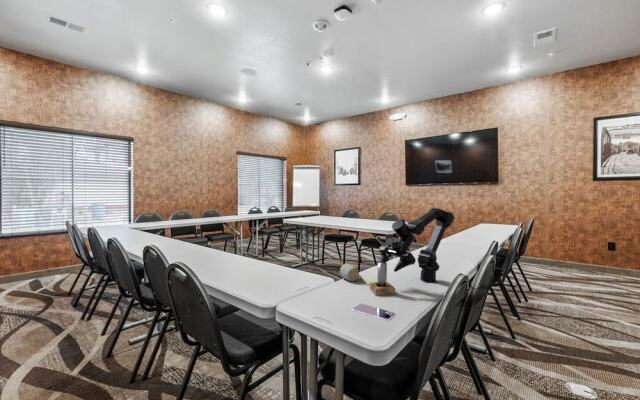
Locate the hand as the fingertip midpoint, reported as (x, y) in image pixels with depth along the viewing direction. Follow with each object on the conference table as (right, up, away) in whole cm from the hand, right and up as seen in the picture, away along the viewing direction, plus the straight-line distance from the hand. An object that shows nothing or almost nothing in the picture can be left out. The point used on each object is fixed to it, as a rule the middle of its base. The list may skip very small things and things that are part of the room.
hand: (387, 268), depth 133 cm
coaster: (-4, -10, +14) cm, 17 cm away
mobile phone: (-11, -11, -24) cm, 29 cm away
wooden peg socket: (-3, -10, -1) cm, 11 cm away
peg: (-3, -10, -1) cm, 11 cm away
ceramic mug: (-15, -10, +17) cm, 24 cm away
